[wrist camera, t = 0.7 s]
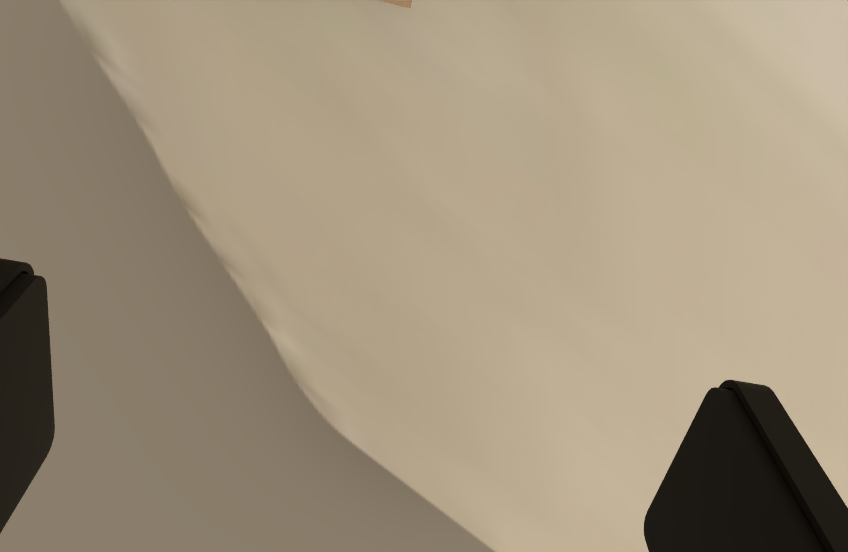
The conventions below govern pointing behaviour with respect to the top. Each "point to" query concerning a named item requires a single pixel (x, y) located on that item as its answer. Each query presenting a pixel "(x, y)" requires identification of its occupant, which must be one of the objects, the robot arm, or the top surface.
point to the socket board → (399, 2)
